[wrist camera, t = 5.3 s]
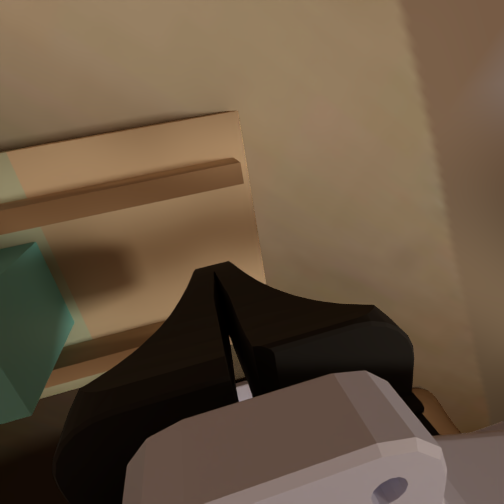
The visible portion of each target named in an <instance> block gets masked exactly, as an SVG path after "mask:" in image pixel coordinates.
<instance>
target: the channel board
mask: <svg viewBox="0 0 504 504" xmlns="http://www.w3.org/2000/svg"><path fill="white" fill-rule="evenodd" d="M31 242H36V243H37V245H38V247H39V249H40V251H41V253H42V255H43V257H44V259H45V262H46V264H47V266H48V268H49V270H50V272H51V274H52V276H53V278H54V280H55V282H56V284H57V287H58V289H59V291H60V293H61V295H62V297H63V299H64V301H65V303H66V305H67V307H68V310H69V312H70V314H71V316H72V318H73V320H74V322H75V323H74V325H73V327H72V329H71V331H70V334H69V336H68V338H67V340H66V342H65V344H64V347H63V349H62V351H61V353H60V355H59V357H58V360H57V362H56V364H55V366H54V368H53V370H52V373H51V375H50V377H49V379H48V381H47V383H46V385H45V388H44V390H43V392H42V394H41V396H40V398H39V399H41V398H44V397H48V396H52V395H55V394H59V393H62V392H66V391H69V390H73V389H76V388H80V387H83V386H85V385H87V384H88V383H90V382H91V381H93V380H94V379H96V378H98V377H99V376H101V375H102V374H104V373H105V372H107V371H108V370H110V369H112V368H113V367H114V366H116V365H117V364H119V363H120V362H121V361H123V360H124V359H125V358H126V357H128V356H129V355H130V354H132V353H133V352H134V351H135V350H136V349H138V348H139V347H140V346H141V345H142V344H143V343H144V342H145V341H146V340H147V339H148V338H150V337H151V336H152V335H153V334H154V333H155V332H156V331H157V330H158V329H159V328H160V327H161V325H162V324H163V323H164V322H165V321H166V319H167V318H168V317H169V316H170V314H171V313H172V312H173V310H174V308H175V307H176V305H177V304H178V302H179V301H180V299H181V297H182V295H183V293H184V291H185V289H186V288H187V286H188V283H189V281H190V279H191V276H192V274H193V272H194V270H195V269H198V268H202V267H206V266H210V265H214V264H218V263H222V262H226V261H230V262H231V263H233V264H234V265H235V266H237V267H238V268H239V269H241V270H242V271H243V272H245V273H246V274H248V275H249V276H251V277H253V278H254V279H256V280H258V281H260V282H262V283H264V284H266V280H265V274H264V268H263V262H262V255H261V249H260V243H259V237H258V231H257V225H256V218H255V212H254V206H253V200H252V194H251V188H250V181H249V175H248V169H247V163H246V157H245V151H244V144H243V138H242V132H241V126H240V120H239V114H238V111H226V112H220V113H215V114H209V115H203V116H198V117H192V118H187V119H181V120H175V121H170V122H164V123H159V124H153V125H147V126H142V127H136V128H131V129H125V130H119V131H114V132H108V133H102V134H97V135H91V136H86V137H80V138H74V139H69V140H63V141H58V142H52V143H46V144H41V145H35V146H30V147H24V148H18V149H13V150H7V151H2V152H0V249H3V248H8V247H13V246H17V245H22V244H27V243H31ZM229 338H230V336H229ZM230 345H233V344H232V341H231V339H230Z"/></svg>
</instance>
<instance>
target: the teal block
mask: <svg viewBox="0 0 504 504" xmlns="http://www.w3.org/2000/svg"><path fill="white" fill-rule="evenodd" d="M74 323H75V322H74V320H73V318H72V316H71V314H70V312H69V310H68V307H67V305H66V303H65V301H64V299H63V297H62V295H61V293H60V291H59V289H58V287H57V284H56V282H55V280H54V278H53V276H52V274H51V272H50V270H49V268H48V266H47V264H46V262H45V259H44V257H43V255H42V253H41V251H40V249H39V247H38V245H37V243H36V242H31V243H27V244H22V245H17V246H13V247H8V248H3V249H0V424H3V423H7V422H10V421H14V420H17V419H21V418H24V417H28V416H31V415H32V414H33V411H34V409H35V407H36V405H37V403H38V401H39V398H40V396H41V394H42V392H43V390H44V388H45V385H46V383H47V381H48V379H49V377H50V375H51V373H52V370H53V368H54V366H55V364H56V362H57V360H58V357H59V355H60V353H61V351H62V349H63V347H64V344H65V342H66V340H67V338H68V336H69V334H70V331H71V329H72V327H73V325H74Z"/></svg>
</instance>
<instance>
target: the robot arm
mask: <svg viewBox="0 0 504 504" xmlns="http://www.w3.org/2000/svg"><path fill="white" fill-rule="evenodd" d="M229 336H230V338H229ZM230 339H231V341H232V344H233V346H234V349H235V351H236V354H237V357H238V359H239V362H240V364H241V367H242V369H243V372H244V374H245V377H246V381H242V382H239V383H235V375H234V368H233V360H232V353H231V345H230ZM413 367H414V352H413V345H412V343H411V341H410V339H409V337H408V335H407V334H406V333H405V332H404V331H403V330H402V329H400V328H399V327H398V326H397V325H396V324H395V323H394V322H393V321H392V320H391V319H390V318H389V317H388V316H387V315H386V314H384V313H383V312H382V311H381V310H380V309H378V308H377V307H376V306H374V305H358V304H338V303H330V302H322V301H316V300H311V299H307V298H302V297H298V296H294V295H291V294H288V293H285V292H282V291H280V290H277V289H274V288H272V287H270V286H268V285H266V284H264V283H262V282H260V281H258V280H256V279H254V278H253V277H251V276H249V275H248V274H246V273H245V272H243V271H242V270H241V269H239V268H238V267H237V266H235V265H234V264H233V263H231V262H230V261H226V262H222V263H218V264H214V265H210V266H206V267H202V268H198V269H195V270H194V272H193V274H192V276H191V279H190V281H189V283H188V286H187V288H186V289H185V291H184V293H183V295H182V297H181V299H180V301H179V302H178V304H177V305H176V307H175V308H174V310H173V312H172V313H171V314H170V316H169V317H168V318H167V319H166V321H165V322H164V323H163V324H162V325H161V327H160V328H159V329H158V330H157V331H156V332H155V333H154V334H153V335H152V336H151V337H150V338H148V339H147V340H146V341H145V342H144V343H143V344H142V345H141V346H140V347H139V348H138V349H136V350H135V351H134V352H133V353H132V354H130V355H129V356H128V357H126V358H125V359H124V360H123V361H121V362H120V363H119V364H117V365H116V366H114V367H113V368H112V369H110V370H108V371H107V372H105V373H104V374H102V375H101V376H99V377H98V378H96V379H94V380H93V381H91V382H90V383H88V384H87V385H85V386H83V387H81V388H80V389H79V390H78V393H77V395H76V397H75V399H74V402H73V404H72V406H71V408H70V411H69V413H68V416H67V419H66V422H65V425H64V427H63V430H62V433H61V436H60V439H59V442H58V445H57V448H56V451H55V454H54V457H53V465H52V475H53V477H54V479H55V482H56V484H57V487H58V488H59V490H60V491H61V493H62V494H63V496H64V497H65V499H66V500H67V501H68V503H69V504H504V421H502V422H499V423H497V424H494V425H491V426H488V427H486V428H483V429H480V430H477V431H474V432H472V433H461V434H450V435H440V434H439V433H438V432H437V430H436V429H435V428H434V427H433V426H432V424H431V423H430V422H429V421H428V420H427V419H426V417H425V416H424V415H423V414H422V413H424V406H423V404H422V402H421V401H420V400H419V399H418V398H417V397H416V396H415V394H414V393H413V392H412V383H413Z"/></svg>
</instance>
